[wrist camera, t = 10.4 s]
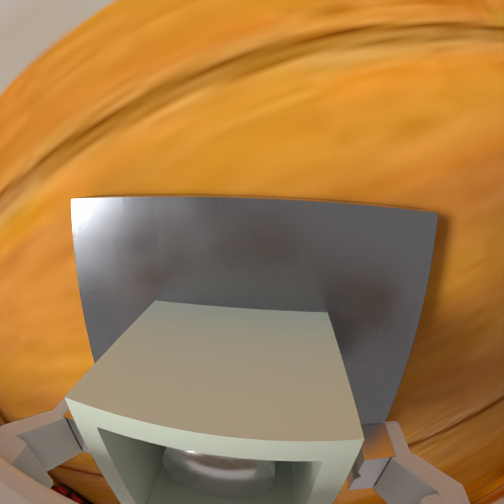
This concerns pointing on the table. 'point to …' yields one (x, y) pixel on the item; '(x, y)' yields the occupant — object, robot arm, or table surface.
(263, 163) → the table surface
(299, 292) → the plate
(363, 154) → the table surface
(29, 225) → the table surface
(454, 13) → the table surface
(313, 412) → the sleeve
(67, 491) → the red clay folk toy
